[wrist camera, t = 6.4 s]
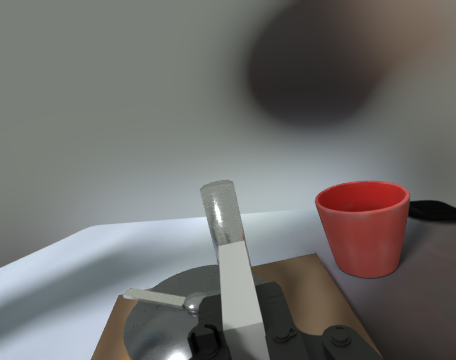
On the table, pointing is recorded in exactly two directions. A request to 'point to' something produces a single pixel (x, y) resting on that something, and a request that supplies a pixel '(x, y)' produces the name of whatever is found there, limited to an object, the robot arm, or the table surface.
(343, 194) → the flower pot
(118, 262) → the table surface
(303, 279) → the walnut base board
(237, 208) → the wheel
